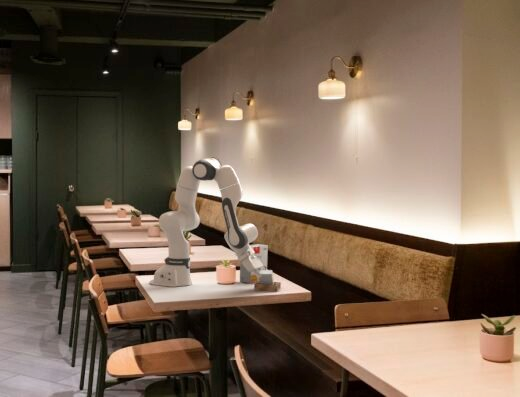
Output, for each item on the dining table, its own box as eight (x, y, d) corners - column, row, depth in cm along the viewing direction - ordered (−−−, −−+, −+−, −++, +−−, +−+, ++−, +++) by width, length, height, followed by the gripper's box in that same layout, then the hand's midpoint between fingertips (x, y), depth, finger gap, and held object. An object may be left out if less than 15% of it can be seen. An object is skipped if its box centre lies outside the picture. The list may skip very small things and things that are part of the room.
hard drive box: (250, 283, 347) (251, 247, 346) (239, 282, 352) (240, 245, 351) (267, 280, 360) (268, 244, 359) (256, 278, 364) (257, 243, 363)
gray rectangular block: (260, 287, 334) (258, 273, 329) (260, 283, 336) (258, 270, 331) (273, 287, 332) (271, 273, 328) (274, 283, 335) (272, 270, 330)
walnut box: (254, 289, 330) (254, 284, 330) (258, 286, 340) (258, 280, 340) (277, 291, 328) (277, 285, 327) (280, 287, 337) (280, 282, 337)
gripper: (246, 257, 344) (262, 278, 342) (236, 260, 324) (253, 282, 322) (255, 250, 343) (271, 271, 341) (246, 252, 323) (262, 274, 321)
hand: (262, 276), depth 331 cm, fingers closed on gray rectangular block, 5 cm apart
